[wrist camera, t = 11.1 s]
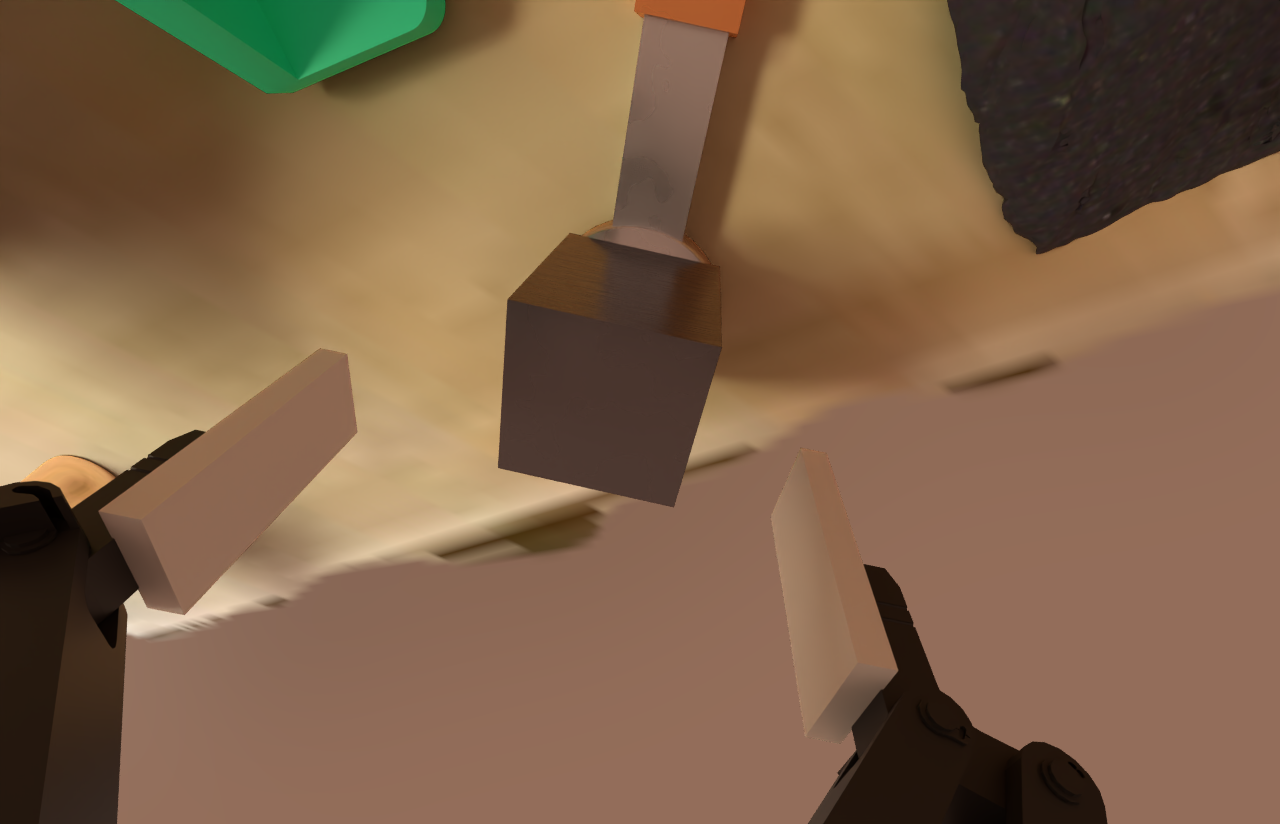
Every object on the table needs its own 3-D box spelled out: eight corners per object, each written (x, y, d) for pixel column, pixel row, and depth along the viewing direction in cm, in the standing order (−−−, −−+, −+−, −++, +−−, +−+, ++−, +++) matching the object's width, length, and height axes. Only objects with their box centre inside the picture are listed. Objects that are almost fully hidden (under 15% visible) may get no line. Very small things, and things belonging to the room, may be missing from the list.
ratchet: (697, 392, 28) (693, 476, 22) (547, 359, 28) (502, 434, 22) (901, -330, 15) (1021, -592, 9) (622, -391, 15) (564, -693, 9)
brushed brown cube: (554, 366, 26) (498, 467, 19) (569, 232, 22) (507, 299, 16) (684, 395, 26) (673, 507, 19) (719, 266, 22) (721, 347, 16)
